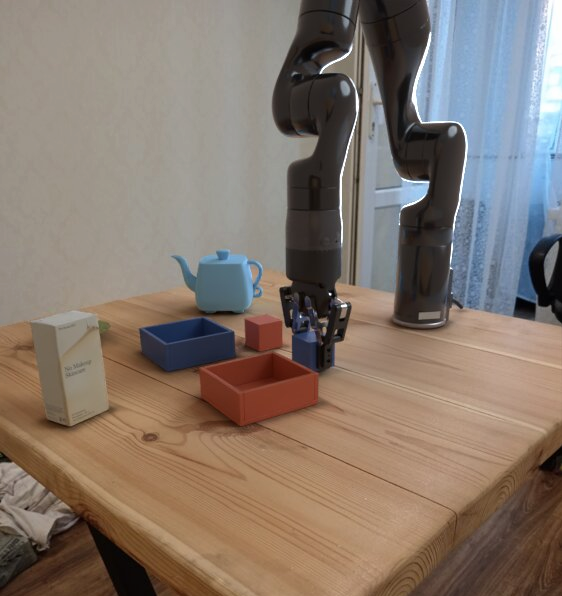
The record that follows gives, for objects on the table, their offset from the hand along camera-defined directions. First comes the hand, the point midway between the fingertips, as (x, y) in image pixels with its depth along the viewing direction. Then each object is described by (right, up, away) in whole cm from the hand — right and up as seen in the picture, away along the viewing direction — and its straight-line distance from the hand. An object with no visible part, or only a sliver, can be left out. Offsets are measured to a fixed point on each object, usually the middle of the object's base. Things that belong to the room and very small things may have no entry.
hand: (312, 363), depth 82 cm
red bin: (-7, -5, -10) cm, 13 cm away
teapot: (-17, +12, +32) cm, 38 cm away
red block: (-7, +3, +10) cm, 13 cm away
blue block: (0, 0, 0) cm, 0 cm away
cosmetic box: (-29, -7, -13) cm, 32 cm away
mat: (-39, +4, +14) cm, 42 cm away
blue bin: (-19, +1, +6) cm, 20 cm away
